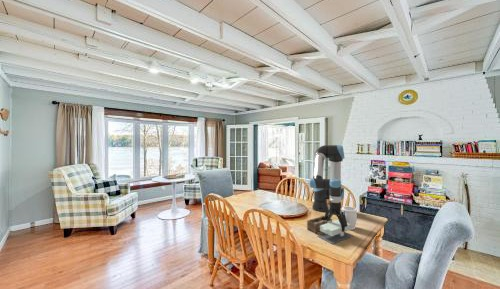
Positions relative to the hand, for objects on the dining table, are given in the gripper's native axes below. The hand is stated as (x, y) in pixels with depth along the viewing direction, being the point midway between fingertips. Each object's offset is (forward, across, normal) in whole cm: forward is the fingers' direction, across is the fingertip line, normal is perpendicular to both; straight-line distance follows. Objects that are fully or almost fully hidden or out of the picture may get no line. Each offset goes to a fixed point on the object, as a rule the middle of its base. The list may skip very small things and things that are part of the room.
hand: (335, 232), depth 145 cm
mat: (+3, 0, 0) cm, 3 cm away
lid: (-2, 0, 0) cm, 2 cm away
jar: (+3, -4, +21) cm, 21 cm away
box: (+3, -14, 0) cm, 14 cm away
